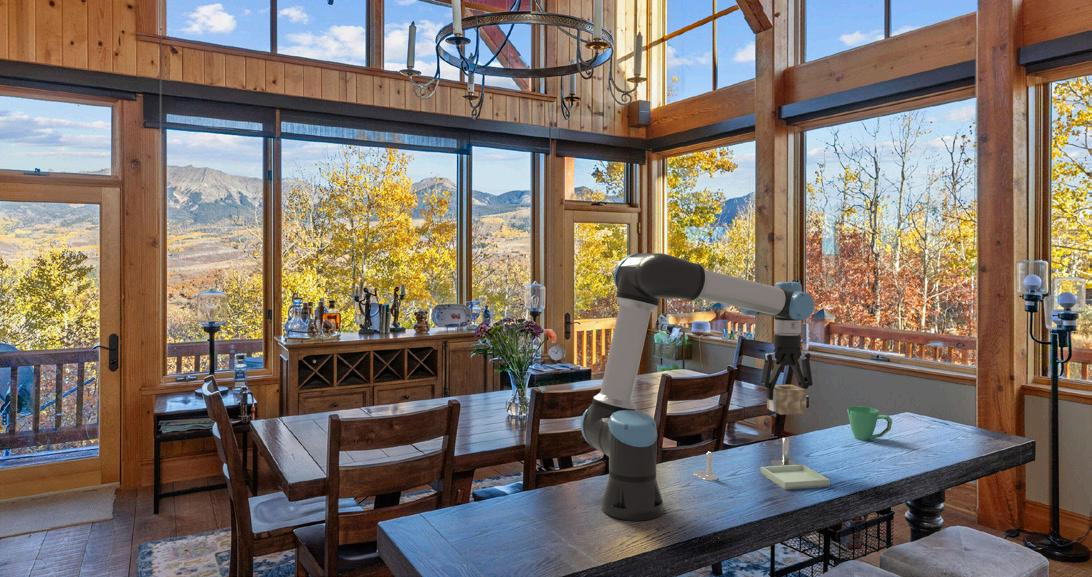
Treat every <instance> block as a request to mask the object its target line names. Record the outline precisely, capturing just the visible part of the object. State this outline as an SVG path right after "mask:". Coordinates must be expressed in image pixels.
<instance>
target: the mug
mask: <svg viewBox="0 0 1092 577" xmlns="http://www.w3.org/2000/svg"><path fill="white" fill-rule="evenodd" d="M846 411H847V415H848V416H847V417H848V420H849V426H850V429H851V432H852V434H853V437H854V439H855V440H856V439H857V440H860V441H870V440H872V439H877V438H881V437H883V436H884V435H885V434H887V433H888V432H889V431H891V430H892V424H893V420H892V418H891V417H890V416H889V415H885V414H880V411H879V409H877V408H873V407H868V406H849V407H847V410H846ZM882 419H883V420H886V423H887V425H886V427H885V428H884V429H883V431H881V432H880V433H876V434H874V433H875V432H874V431H875V428H876V426H877V422H878V420H882Z"/></svg>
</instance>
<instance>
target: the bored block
mask: <svg viewBox="0 0 1092 577" xmlns="http://www.w3.org/2000/svg"><path fill="white" fill-rule="evenodd" d="M774 389H776V390H777V391H776V412H775V413H777V414H778V415H782V416H783V415H801V414H803V415H805V414H807V392H808V391H807V389H803V388H800V386H797V385H795V384H776V385H775V387H774ZM766 409H768V410H769V399H767V398H766Z"/></svg>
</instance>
